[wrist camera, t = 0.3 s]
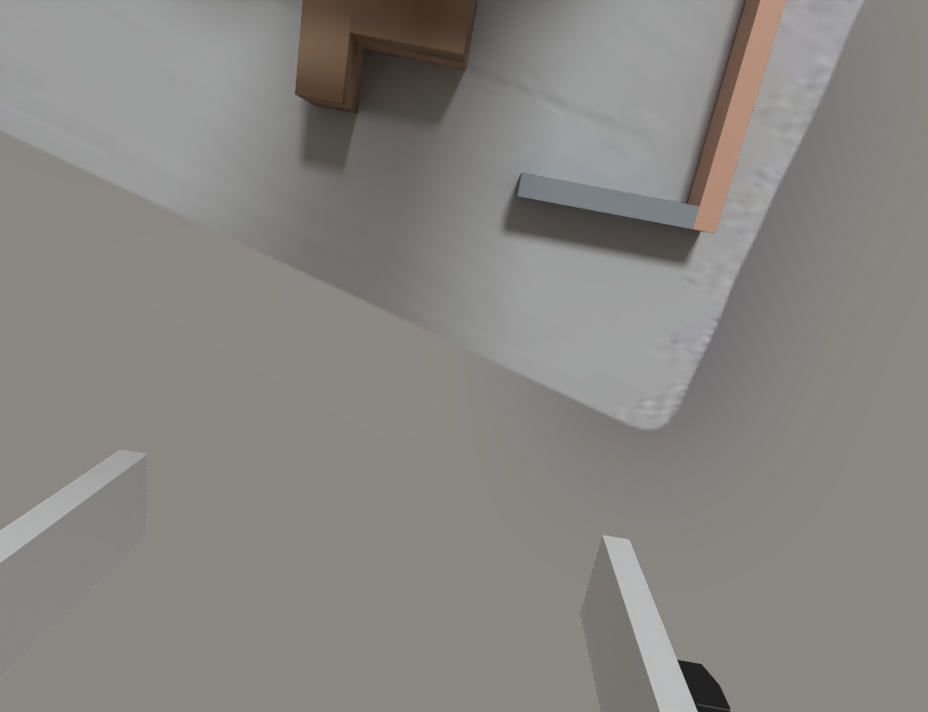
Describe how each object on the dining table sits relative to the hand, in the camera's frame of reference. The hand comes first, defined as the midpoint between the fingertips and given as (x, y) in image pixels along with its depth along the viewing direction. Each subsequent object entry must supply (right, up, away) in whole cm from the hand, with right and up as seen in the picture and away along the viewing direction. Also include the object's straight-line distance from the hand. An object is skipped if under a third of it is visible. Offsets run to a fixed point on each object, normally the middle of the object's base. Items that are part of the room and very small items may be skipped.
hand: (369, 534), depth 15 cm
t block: (-2, +27, +21) cm, 34 cm away
